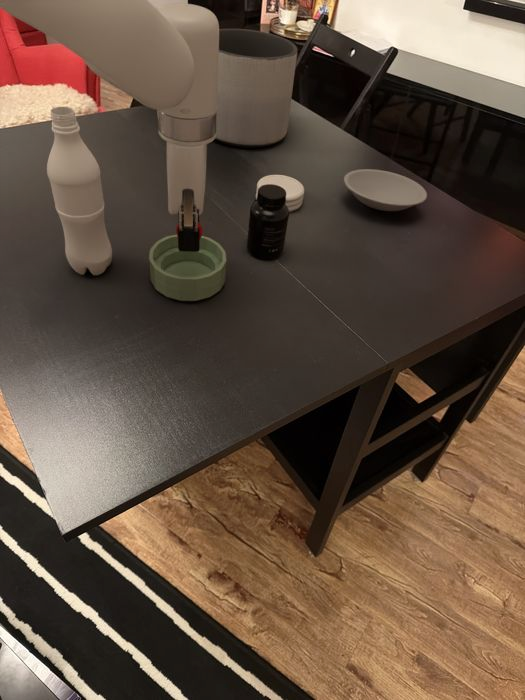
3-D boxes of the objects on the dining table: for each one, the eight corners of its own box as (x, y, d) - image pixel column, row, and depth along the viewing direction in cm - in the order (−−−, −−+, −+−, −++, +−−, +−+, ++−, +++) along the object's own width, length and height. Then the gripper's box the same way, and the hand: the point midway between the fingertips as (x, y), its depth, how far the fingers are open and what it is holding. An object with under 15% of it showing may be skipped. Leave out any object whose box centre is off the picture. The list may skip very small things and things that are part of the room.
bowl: (149, 303, 76) (147, 278, 72) (153, 256, 84) (151, 232, 80) (226, 304, 77) (228, 279, 74) (222, 258, 86) (224, 234, 82)
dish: (418, 199, 108) (426, 179, 105) (419, 233, 99) (428, 211, 95) (342, 184, 110) (347, 163, 106) (335, 215, 100) (340, 193, 96)
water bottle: (123, 265, 81) (103, 111, 63) (91, 285, 77) (60, 127, 59) (92, 248, 83) (64, 96, 65) (59, 268, 79) (20, 109, 61)
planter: (212, 107, 132) (215, 22, 118) (292, 123, 131) (304, 38, 116) (187, 140, 117) (186, 46, 102) (278, 158, 115) (290, 65, 101)
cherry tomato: (176, 249, 74) (175, 225, 71) (176, 234, 76) (175, 210, 73) (202, 249, 74) (202, 226, 71) (201, 235, 77) (202, 211, 74)
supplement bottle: (240, 242, 90) (245, 182, 81) (273, 237, 92) (282, 178, 83) (254, 264, 85) (261, 203, 77) (289, 258, 88) (299, 198, 79)
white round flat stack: (255, 186, 104) (257, 171, 102) (300, 191, 105) (303, 176, 103) (255, 211, 98) (257, 195, 95) (303, 215, 98) (306, 200, 96)
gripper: (160, 95, 67) (166, 212, 80) (154, 150, 56) (162, 274, 69) (214, 99, 68) (211, 213, 81) (219, 153, 57) (214, 275, 70)
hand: (188, 240), depth 75 cm, fingers closed on cherry tomato, 3 cm apart
